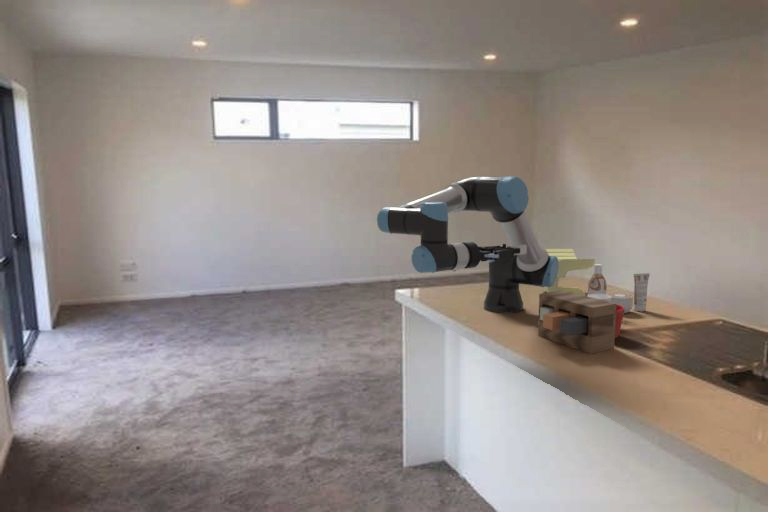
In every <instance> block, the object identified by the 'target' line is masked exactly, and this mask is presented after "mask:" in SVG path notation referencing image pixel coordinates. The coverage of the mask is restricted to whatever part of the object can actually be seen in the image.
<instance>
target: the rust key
mask: <svg viewBox="0 0 768 512" xmlns="http://www.w3.org/2000/svg"><path fill="white" fill-rule="evenodd" d="M570 314H571V312H570V311H567V310H566V311H560V312H555V313H549V314H543V327H544V328H547V329H550V330H556V329H561V319H566V318H570Z"/></svg>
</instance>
